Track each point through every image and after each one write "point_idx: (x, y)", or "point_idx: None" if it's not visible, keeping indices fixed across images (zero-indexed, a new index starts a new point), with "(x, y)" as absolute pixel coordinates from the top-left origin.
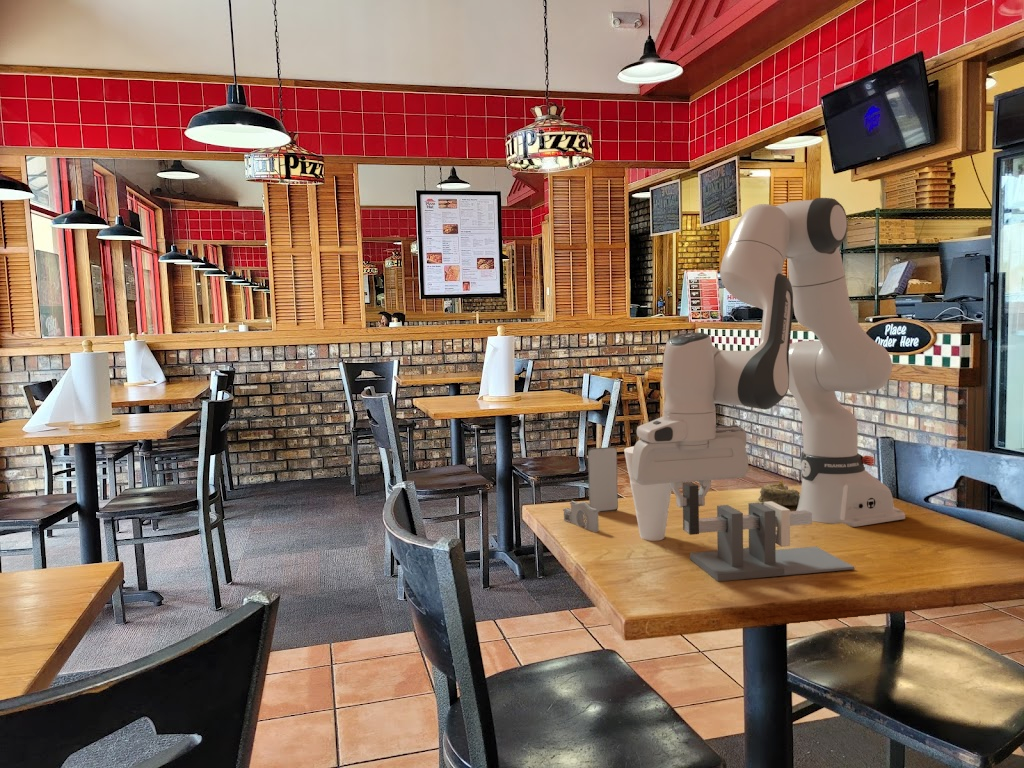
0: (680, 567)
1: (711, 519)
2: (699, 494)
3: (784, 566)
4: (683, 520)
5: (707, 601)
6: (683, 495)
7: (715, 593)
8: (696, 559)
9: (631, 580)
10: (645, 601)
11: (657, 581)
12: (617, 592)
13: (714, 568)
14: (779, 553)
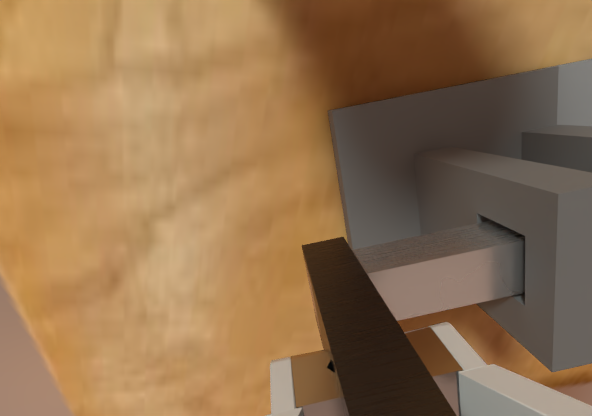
0: (282, 177)
1: (447, 291)
2: (465, 410)
3: None
4: (308, 271)
5: None
6: (332, 406)
7: None
8: (339, 167)
9: (122, 282)
10: (158, 411)
11: (198, 290)
12: (85, 363)
13: None
14: None
